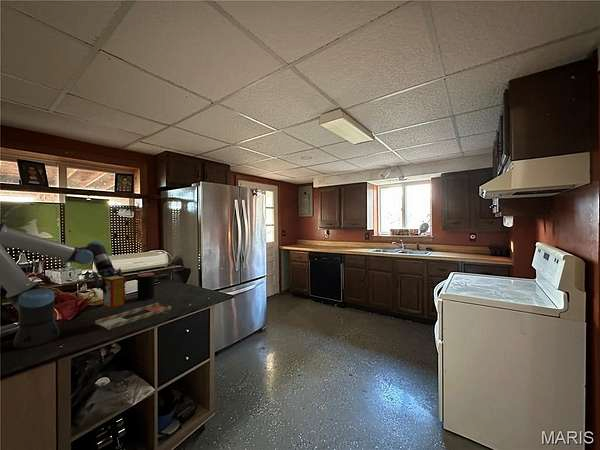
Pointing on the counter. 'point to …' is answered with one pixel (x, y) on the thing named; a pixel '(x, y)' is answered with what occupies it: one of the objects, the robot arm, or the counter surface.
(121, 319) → the pad
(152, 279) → the coffee jar
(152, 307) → the trap pad
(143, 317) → the channel
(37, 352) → the counter surface
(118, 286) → the baking soda box
